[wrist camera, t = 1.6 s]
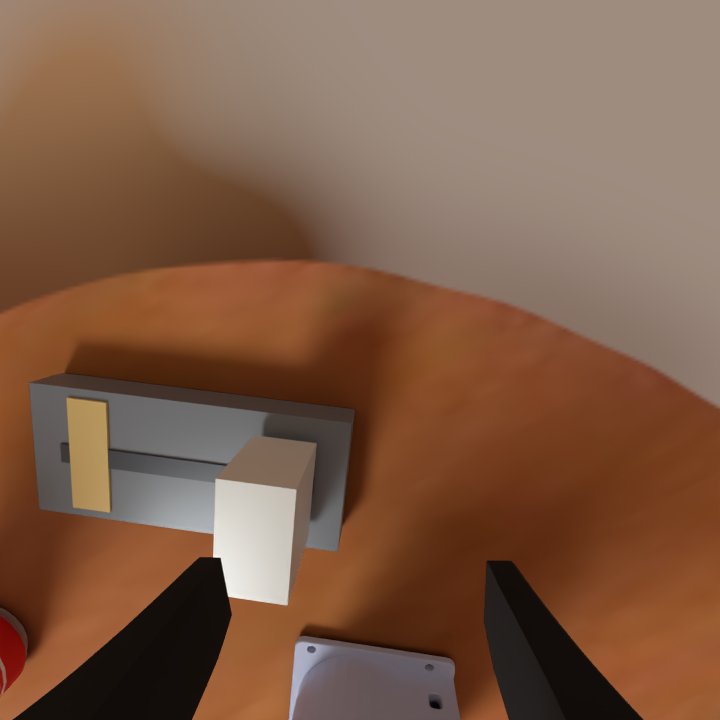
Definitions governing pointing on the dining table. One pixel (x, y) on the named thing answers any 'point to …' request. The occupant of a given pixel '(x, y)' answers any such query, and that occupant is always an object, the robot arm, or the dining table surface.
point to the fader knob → (264, 517)
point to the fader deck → (172, 450)
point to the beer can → (11, 649)
